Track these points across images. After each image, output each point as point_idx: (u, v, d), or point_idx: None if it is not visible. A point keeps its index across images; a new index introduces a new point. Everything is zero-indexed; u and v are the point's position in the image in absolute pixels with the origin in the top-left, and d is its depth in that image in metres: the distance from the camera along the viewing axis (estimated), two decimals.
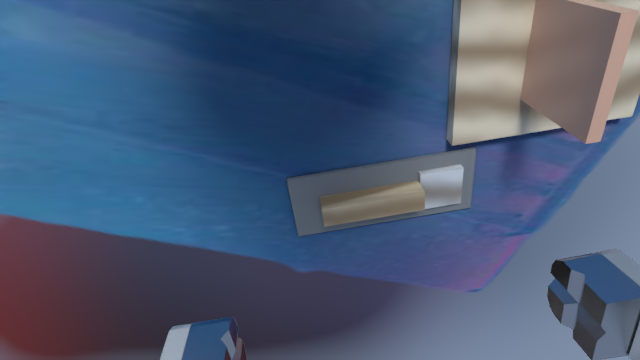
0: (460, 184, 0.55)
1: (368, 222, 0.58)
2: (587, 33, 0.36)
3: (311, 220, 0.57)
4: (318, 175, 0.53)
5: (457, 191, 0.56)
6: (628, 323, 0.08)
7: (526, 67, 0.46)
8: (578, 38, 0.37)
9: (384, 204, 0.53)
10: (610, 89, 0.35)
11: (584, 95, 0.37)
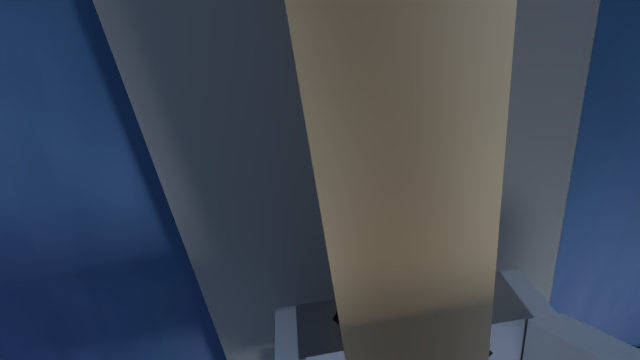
0: None
1: (158, 120, 0.08)
2: None
3: None
4: None
5: None
6: (514, 343, 0.08)
7: None
8: None
9: (451, 228, 0.07)
10: None
11: None
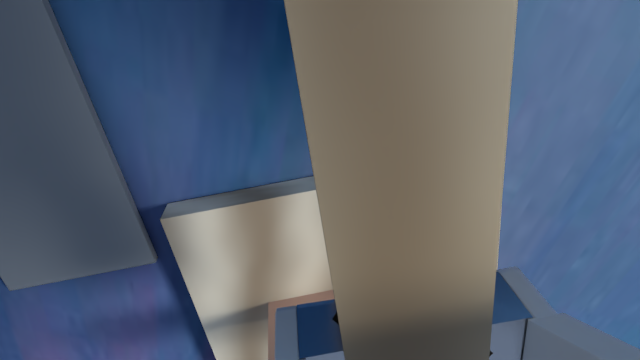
0: None
1: None
2: None
3: None
4: None
5: None
6: (514, 343, 0.08)
7: (324, 294, 0.28)
8: None
9: (451, 232, 0.07)
10: None
11: None
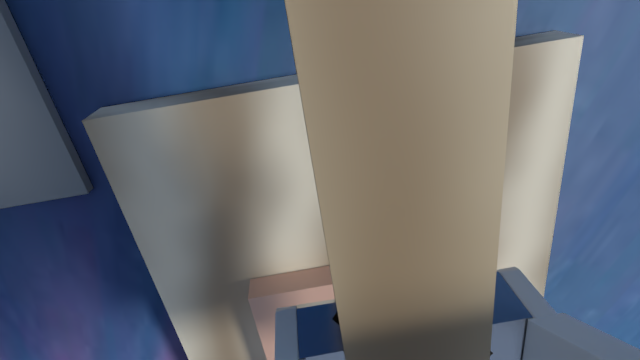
0: None
1: None
2: None
3: None
4: None
5: None
6: (514, 344, 0.08)
7: (327, 289, 0.20)
8: None
9: (452, 231, 0.07)
10: None
11: None
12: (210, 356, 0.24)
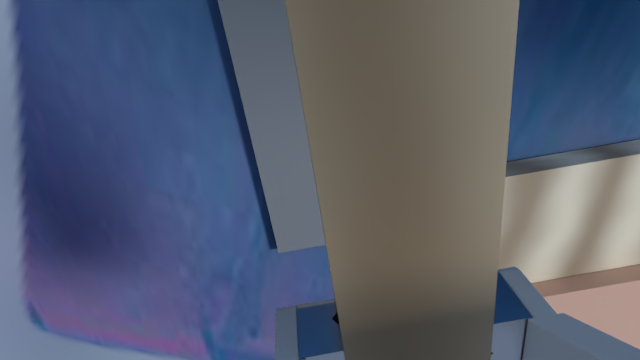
0: None
1: (233, 34, 0.22)
2: None
3: None
4: None
5: None
6: (514, 343, 0.08)
7: (569, 295, 0.30)
8: None
9: (453, 235, 0.07)
10: None
11: None
12: None
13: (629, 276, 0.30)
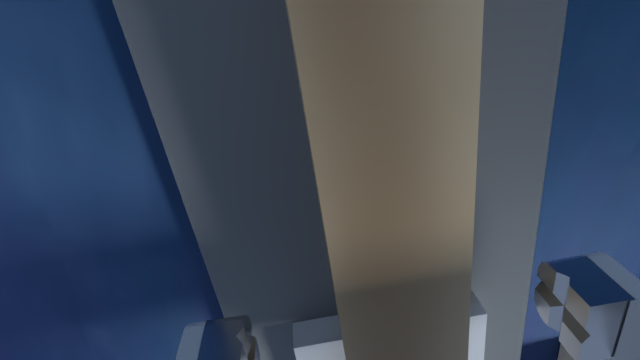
0: None
1: (168, 107, 0.09)
2: None
3: None
4: None
5: None
6: (612, 326, 0.08)
7: None
8: None
9: (432, 205, 0.08)
10: None
11: None
12: None
13: None
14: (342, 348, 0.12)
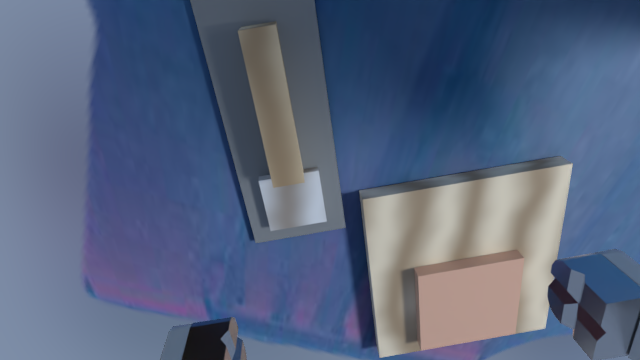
0: (301, 223, 0.41)
1: (223, 106, 0.36)
2: (499, 318, 0.47)
3: (223, 5, 0.32)
4: (315, 17, 0.33)
5: (290, 222, 0.41)
6: (628, 323, 0.08)
7: (454, 272, 0.44)
8: (494, 313, 0.47)
9: (285, 128, 0.34)
10: None
11: (455, 334, 0.48)
12: (385, 307, 0.47)
13: (496, 259, 0.44)
14: None
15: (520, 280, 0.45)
